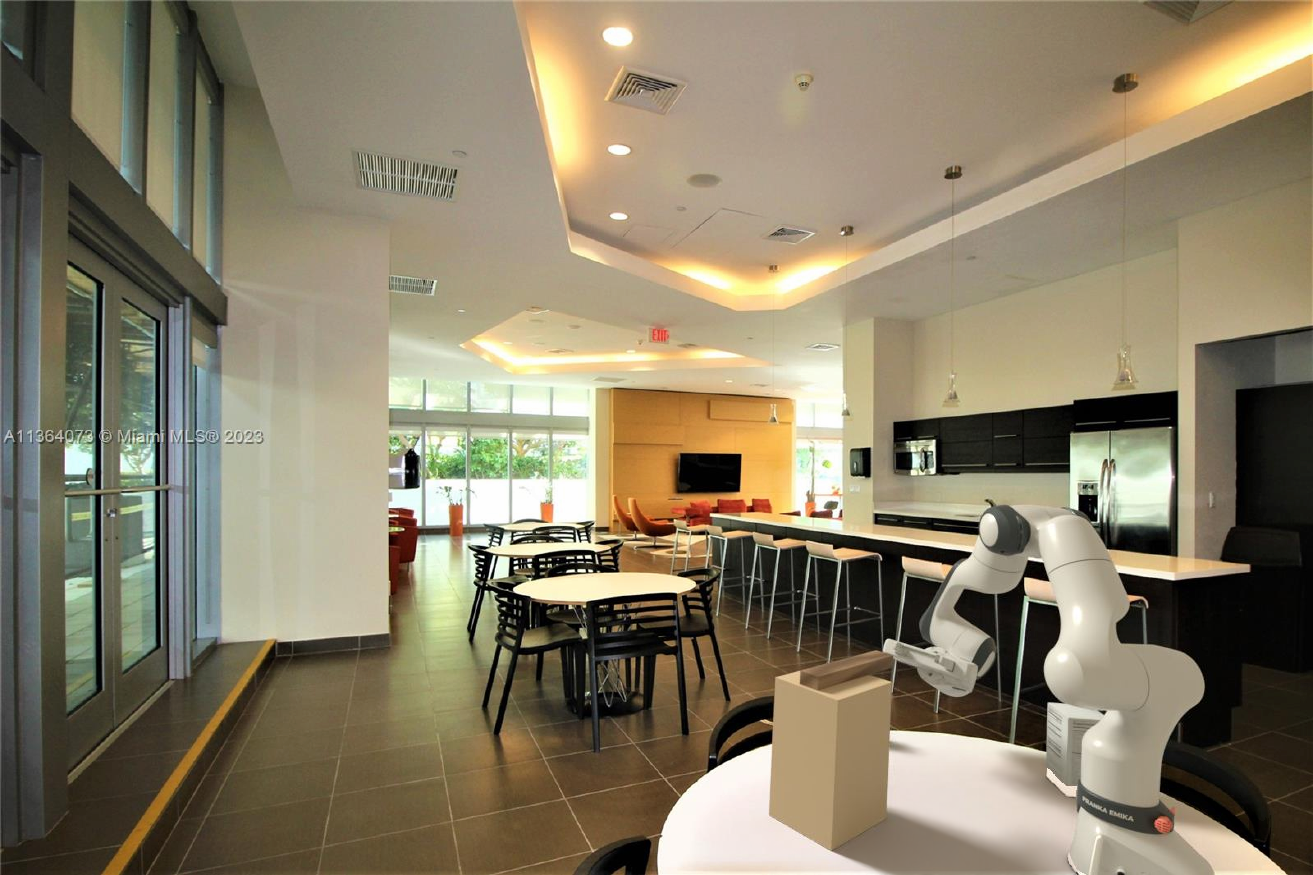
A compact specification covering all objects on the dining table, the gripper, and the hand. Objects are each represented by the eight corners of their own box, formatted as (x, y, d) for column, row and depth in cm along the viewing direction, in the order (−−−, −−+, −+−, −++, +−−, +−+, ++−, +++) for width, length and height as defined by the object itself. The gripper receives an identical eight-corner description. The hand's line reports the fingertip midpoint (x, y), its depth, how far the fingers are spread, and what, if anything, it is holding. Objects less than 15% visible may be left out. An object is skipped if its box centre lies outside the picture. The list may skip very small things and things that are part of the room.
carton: (886, 818, 126) (892, 682, 127) (831, 851, 114) (837, 700, 115) (825, 788, 137) (831, 662, 138) (768, 814, 125) (775, 677, 126)
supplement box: (1088, 780, 147) (1091, 704, 147) (1113, 802, 138) (1115, 720, 138) (1043, 776, 148) (1046, 701, 148) (1065, 797, 139) (1067, 716, 139)
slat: (892, 667, 137) (893, 655, 137) (817, 690, 120) (818, 676, 120) (875, 662, 140) (875, 650, 140) (799, 684, 123) (800, 670, 123)
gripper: (899, 641, 164) (877, 625, 155) (985, 668, 149) (967, 652, 140) (892, 666, 162) (869, 651, 153) (978, 695, 147) (959, 681, 139)
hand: (917, 652), depth 147 cm, fingers open, 8 cm apart
